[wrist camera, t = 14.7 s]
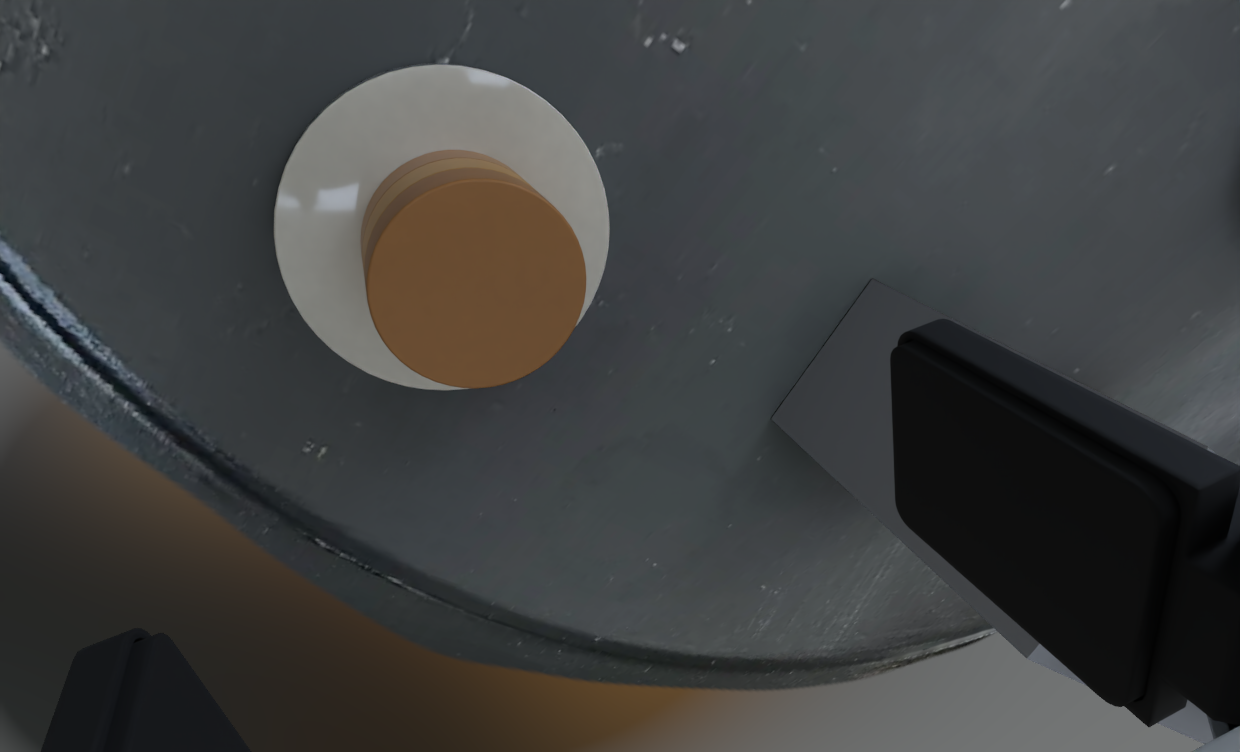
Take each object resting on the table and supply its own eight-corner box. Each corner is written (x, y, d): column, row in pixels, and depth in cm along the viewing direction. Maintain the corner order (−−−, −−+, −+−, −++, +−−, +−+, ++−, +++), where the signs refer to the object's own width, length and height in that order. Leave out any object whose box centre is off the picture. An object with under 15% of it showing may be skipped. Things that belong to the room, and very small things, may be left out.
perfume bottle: (770, 418, 31) (1194, 815, 16) (872, 278, 30) (1437, 562, 15) (874, 477, 35) (1308, 853, 19) (969, 352, 33) (1515, 647, 18)
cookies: (323, 272, 23) (322, 326, 19) (426, 108, 22) (446, 130, 18) (483, 359, 26) (511, 422, 22) (581, 217, 25) (627, 255, 21)
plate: (209, 286, 23) (206, 294, 22) (391, -17, 21) (393, -18, 20) (494, 427, 28) (498, 437, 27) (660, 190, 26) (669, 194, 25)
